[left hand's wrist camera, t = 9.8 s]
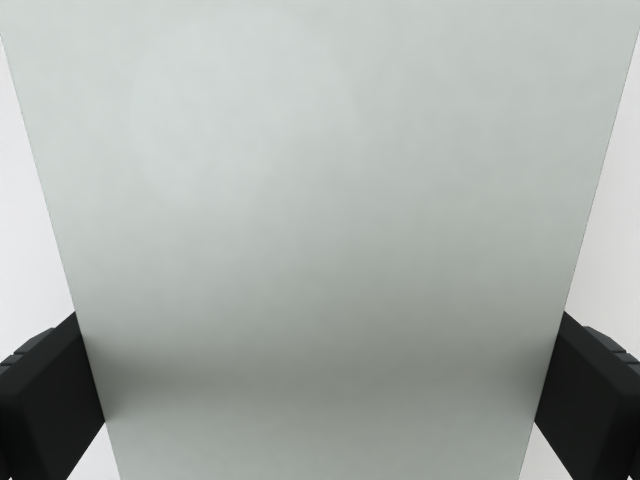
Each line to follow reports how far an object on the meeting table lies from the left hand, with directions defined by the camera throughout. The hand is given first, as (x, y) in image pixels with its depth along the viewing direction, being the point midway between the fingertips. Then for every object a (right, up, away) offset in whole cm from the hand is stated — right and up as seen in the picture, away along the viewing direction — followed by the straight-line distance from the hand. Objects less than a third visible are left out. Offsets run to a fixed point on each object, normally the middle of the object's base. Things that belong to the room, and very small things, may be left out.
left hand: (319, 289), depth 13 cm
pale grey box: (0, +6, +1) cm, 7 cm away
